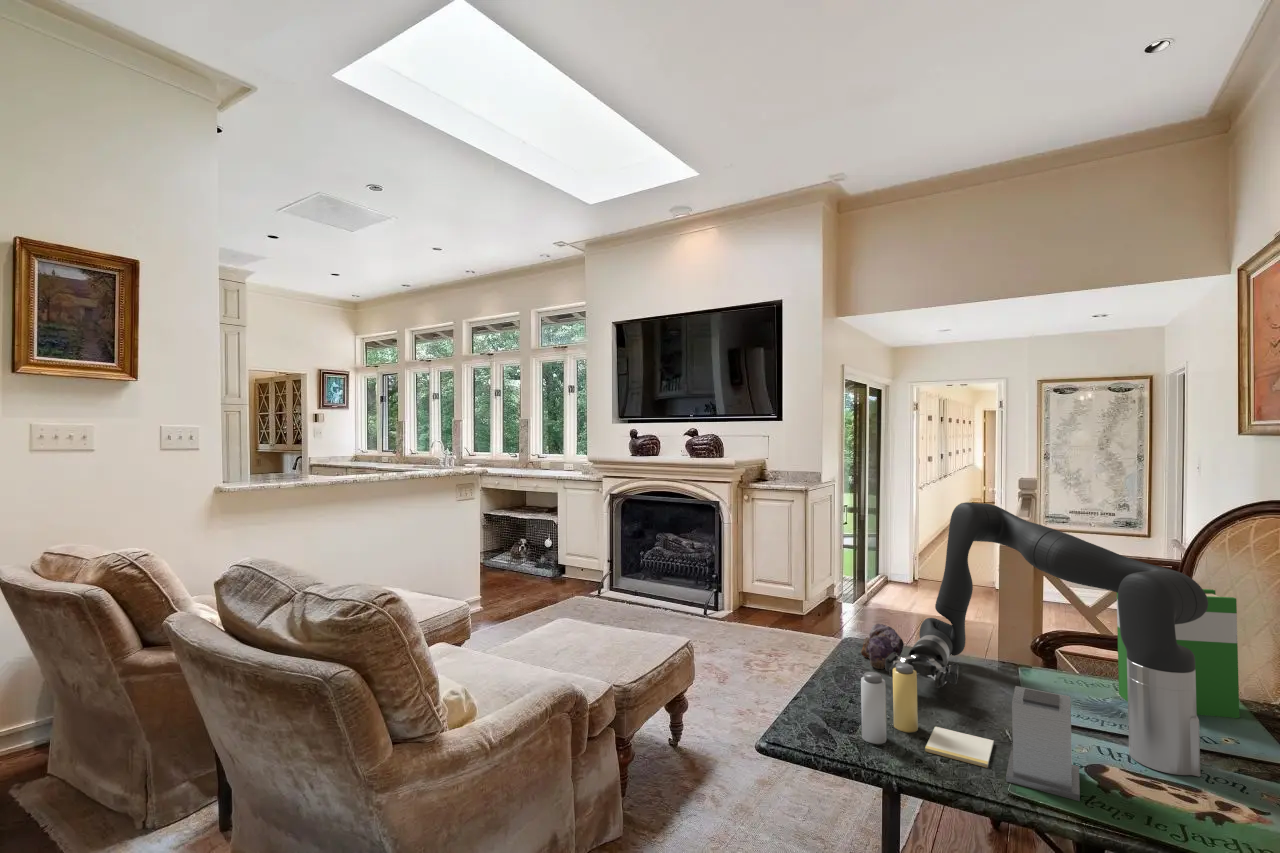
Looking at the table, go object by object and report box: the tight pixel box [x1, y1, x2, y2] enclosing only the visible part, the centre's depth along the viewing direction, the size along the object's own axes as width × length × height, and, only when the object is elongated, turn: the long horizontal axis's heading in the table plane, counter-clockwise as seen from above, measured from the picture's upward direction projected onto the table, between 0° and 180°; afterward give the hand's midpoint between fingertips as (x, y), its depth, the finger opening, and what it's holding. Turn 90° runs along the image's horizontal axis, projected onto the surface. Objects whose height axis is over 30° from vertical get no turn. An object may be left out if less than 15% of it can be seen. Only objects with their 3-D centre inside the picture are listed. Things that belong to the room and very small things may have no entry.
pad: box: [924, 726, 995, 769], centre depth 114 cm, size 10×10×1 cm
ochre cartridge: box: [892, 663, 919, 733], centre depth 122 cm, size 4×4×12 cm
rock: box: [860, 623, 905, 670], centre depth 156 cm, size 12×9×10 cm
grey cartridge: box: [860, 671, 887, 745], centre depth 118 cm, size 4×4×12 cm
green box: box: [1116, 588, 1240, 719], centre depth 130 cm, size 18×7×24 cm, turn 75°
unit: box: [1005, 685, 1081, 802], centre depth 104 cm, size 10×10×13 cm
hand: (914, 678), depth 129 cm, fingers open, 8 cm apart
